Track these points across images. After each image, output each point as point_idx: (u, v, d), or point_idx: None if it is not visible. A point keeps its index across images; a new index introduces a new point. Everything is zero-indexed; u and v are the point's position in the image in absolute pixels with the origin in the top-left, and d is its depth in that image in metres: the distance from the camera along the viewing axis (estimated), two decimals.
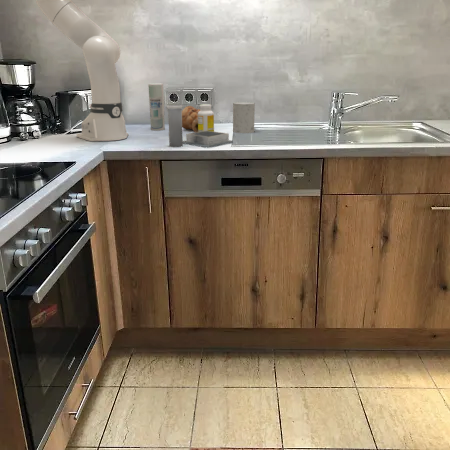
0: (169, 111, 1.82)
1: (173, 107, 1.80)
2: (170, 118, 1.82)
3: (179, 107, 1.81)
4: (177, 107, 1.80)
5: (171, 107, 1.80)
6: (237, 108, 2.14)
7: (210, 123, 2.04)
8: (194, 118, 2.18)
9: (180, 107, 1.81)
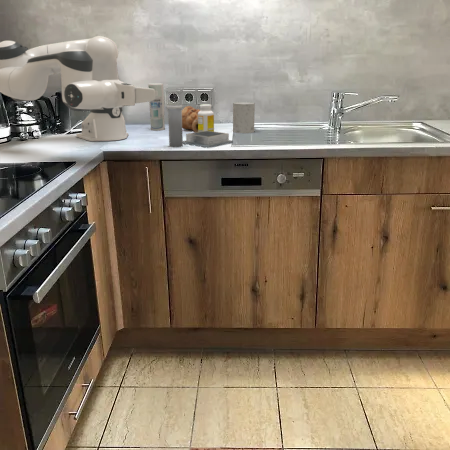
0: (169, 111, 1.82)
1: (173, 107, 1.80)
2: (170, 118, 1.82)
3: (179, 107, 1.81)
4: (177, 107, 1.80)
5: (171, 107, 1.80)
6: (237, 108, 2.14)
7: (210, 123, 2.04)
8: (194, 118, 2.18)
9: (180, 107, 1.81)
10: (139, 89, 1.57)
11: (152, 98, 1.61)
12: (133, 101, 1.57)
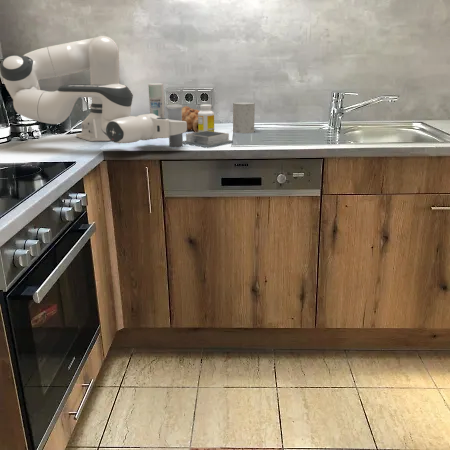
0: (169, 111, 1.82)
1: (173, 107, 1.80)
2: (170, 118, 1.82)
3: (179, 107, 1.81)
4: (177, 107, 1.80)
5: (171, 107, 1.80)
6: (237, 108, 2.14)
7: (210, 123, 2.04)
8: (193, 118, 2.17)
9: (180, 107, 1.81)
10: (173, 123, 1.71)
11: (184, 130, 1.75)
12: (168, 134, 1.72)
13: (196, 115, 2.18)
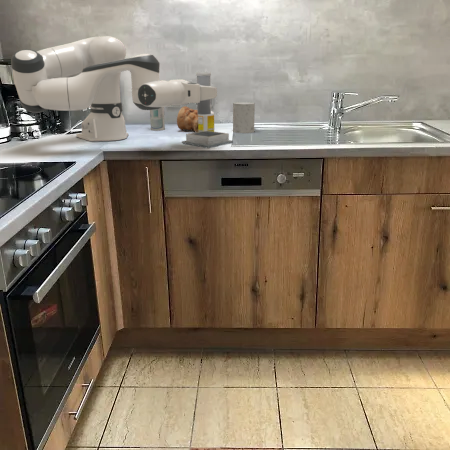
0: (198, 78, 1.82)
1: (202, 74, 1.81)
2: None
3: (208, 74, 1.81)
4: (206, 74, 1.81)
5: (200, 74, 1.81)
6: (237, 108, 2.14)
7: (210, 123, 2.04)
8: (193, 118, 2.17)
9: (209, 74, 1.82)
10: (204, 87, 1.72)
11: (214, 95, 1.76)
12: (199, 99, 1.72)
13: (196, 115, 2.17)
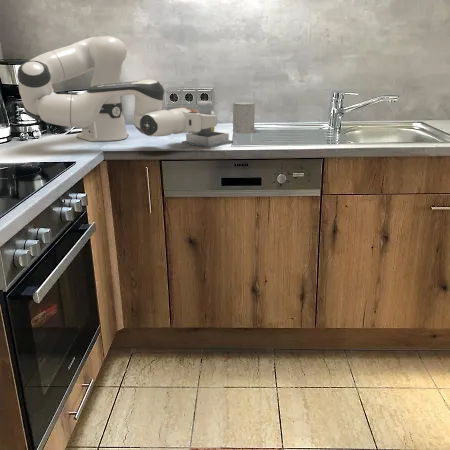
0: (199, 107, 1.86)
1: (204, 103, 1.84)
2: None
3: (209, 103, 1.85)
4: (208, 103, 1.84)
5: (202, 103, 1.84)
6: (237, 108, 2.14)
7: None
8: None
9: (210, 103, 1.85)
10: (204, 116, 1.75)
11: (215, 124, 1.79)
12: (199, 127, 1.75)
13: None
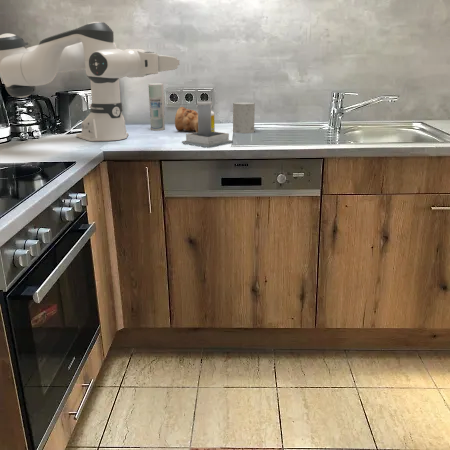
0: (199, 107, 1.86)
1: (203, 103, 1.84)
2: (200, 114, 1.86)
3: (209, 103, 1.85)
4: (207, 103, 1.84)
5: (201, 103, 1.84)
6: (237, 108, 2.14)
7: None
8: (191, 119, 2.16)
9: (210, 103, 1.85)
10: (162, 57, 1.58)
11: (175, 66, 1.62)
12: (157, 69, 1.58)
13: (194, 115, 2.16)
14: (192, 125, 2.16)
